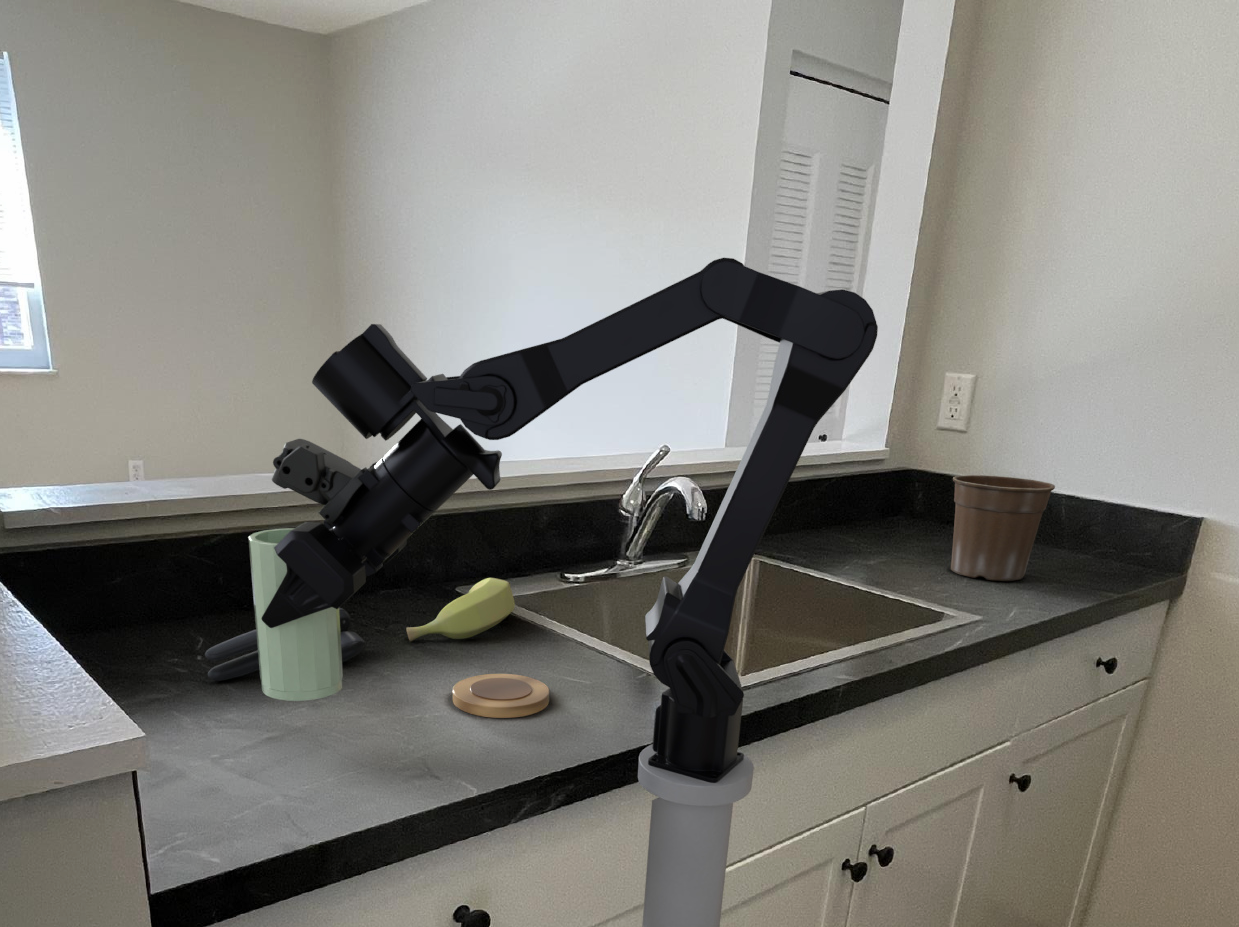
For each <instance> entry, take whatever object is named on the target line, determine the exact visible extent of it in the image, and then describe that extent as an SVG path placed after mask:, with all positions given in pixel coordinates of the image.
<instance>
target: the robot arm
mask: <svg viewBox="0 0 1239 927" xmlns="http://www.w3.org/2000/svg"><path fill="white" fill-rule="evenodd" d="M875 316H876V315H875V313H874V309H873V308H872V307H871V306H870V304H869V303H868V302H867V300H866V299H865V298H864V297H862V296H861V295H859V294H858V293H856V292H854V291H851V290H847V289H832V290H831V289H830V290H826V291H822V292H815V291H812V290H809V289H807V288H805V287H802V286H799V285H798V284H794V283H792V282H789V281H786V280H783V279H780V278H777V277H774V276H771V275H769V274H765V273H763V272H760V271H757V270H755V269H752V268H750V267H747V266H746V265H745V264H744V263H743V262H741V261H739V260H737V259H736V258H731V257H721V258H717V259H714V260H712V261H710V262H709V263H708V264H706V265H705V266H704V267H703V268H702V269H701V270H700V271H697V272H696V273H693V274H691V275H690V276H688V277H685V278H683V279H681V280H679V281H677V282H675V283H673V284H671V285H669V286H667V287H665V288H662V289H660V290H659V291H656V292H655V293H652V294H650V295H648V296H646V297H644V298H642V299H640V300H638V301H636V302H634V303H632V304H630V305H628V306H626V307H624V308H622V309H619V310H618V311H615V312H614V313H612V314H609V315H606V316H605V317H603V318H601V319H599V320H597V321H595V322H593V323H591V324H589V325H587V326H585V327H583V328H581V329H579V330H577V331H575V332H573V333H570V334H569V335H566V336H564V337H561V338H558V339H555V340H551V341H548V342H544V343H541V344H536V345H533V346H530V347H525V348H522V349H517V350H514V351H511V352H507V353H504V354H500V355H497V356H492V357H489V358H485V359H481V360H479V361H477V362H474V363H472V364H471V365H469V366H468V367H467V368H465V369H464V370H463V371H462V372H461V374H460V375H455V376H446V375H445V374H444V373H440V374H435V375H432V376H430V377H429V378H428V377H427V376H426V375H425V374H424V373H423V372H422V371H421V370H420V369H419V368H418V367H417V365H416V364H415V363H414V362H413V361H412V360H411V359H410V358H409V357H408V355H406V354H405V352H404V351H402V350H403V349H401V348H400V347H399V346H398V344H397V343H396V341H395V338H393V336H392V335H391V333H390V332H389V331H388V330H387V329H386V328H385V327H384V326H383V324H381V323H371V324H370V325H369V326H368V327H367V328H366V329H365V330H364V331H363V332H362V333H360V334H359V335H358V336H356V337H354V338H353V339H352V340H351V341H349V342H348V343H347V344H346V345H344V346H343V347H342V349H340V350H336V351H334V352H333V353H332V354H331V355H330V356H329V357H328V358H327V359H326V360H325V362H324V363H323V364H322V365H321V366H320V367H319V369H318V370H317V371H316V373H315V374H314V376H313V378H312V380H311V384H312V385H313V386H314V387H315V388H316V389H317V390H318V391H319V392H320V394H322V395H323V397H325V398H326V399H327V400H328V402H329V403H330V404H332V406H333V407H334V408H335V409H336V410H337V411H338V412H339V413H340V414H341V415H342V416H343V417H344V419H346V420H347V421H348V422H349V423H350V424H351V425H352V426H353V428H354V429H355V430H356V431H357V432H358V433H360V435H361V436H362V437H363V438H364V439H366V440H368V439H369V438H371V437H373V438H375V437H377V436H378V435H379V434H380V437H381V438H382V439H383V440H384V441H385V442H386V441H388V440H390V439H391V438H392V437H393V436H395V435H396V434H397V433H398V432H399V431H400V430H402V429H403V427H404V426H405V425H407V423H408V422H409V421H410V420H411V419H412V418H413V417H414V416H415V415H418V416H419V418H420V419H419V420H418V421H417V422H416V423H415V424H414V425H413V426H412V427H411V428H410V429H409V430H408V431H407V432H406V434H405V435H404V436H402V437H401V438H400V439H399V440H398V441H397V443H396V444H394V446H393V447H392V448H390V449H389V450H388V452H387V453H386V454H384V455H383V456H382V458H380V460H379V461H378V462H377V461H375V462H373V463H372V464H371V465H370V466H369V467H368V468H367V467H366V466H365V467H363V468H360V467H358V466H356V465H354V464H353V463H352V462H350V461H349V460H346V459H345V458H343V457H341V456H339V455H337V454H335V453H333V452H332V451H329V450H328V449H325V448H323V447H321V446H319V445H318V444H316V443H314V442H311V441H310V440H308V439H304V438H296V439H293V440H289V441H287V442H285V443H284V445H283V448H282V451H281V453H280V454H279V455H278V456H276V457H274V459H273V460H272V465H273V467H274V468H275V469H274V472H273V474H272V477H271V481H272V483H273V484H275V485H276V486H278V487H280V488H281V489H285V490H286V489H289V490H291V491H293V492H294V493H297V494H299V495H301V496H303V497H305V498H306V499H309V500H310V501H313V502H314V503H317V504H319V505H323V507H322V508H321V509H320V510H318V514H319V515H320V516H321V518H323V519H324V520H323V522H308V521H305V522H303V523H301V524H299V525H298V526H297V527H294V528H295V529H293V530H291V531H290V532H289V533H288V534H287V535H286V536H285V537H284V538H283V539H282V540H281V541H280V542H279V543H278V544H277V545H276V546H275V547H274V549H275V551H276V554H277V555H278V556H279V557H280V558H281V559H282V560H283V561H284V562H285V563H286V567H287V573H286V575H285V577H284V579H283V581H282V583H281V585H280V586H279V588H278V590H277V592H276V593H275V595H274V597H273V599H272V600H271V602H270V604H269V606H268V607H267V609H266V611H265V613H264V614H263V616H262V618H261V619H262V621H263V622H264V623H265V624H266V625H267V626H268V627H269V628H274V627H277V626H279V625H282V624H285V623H288V622H290V621H293V620H296V619H299V618H301V617H304V616H307V615H310V614H313V613H316V612H319V611H322V610H325V609H328V608H331V607H333V608H335V609H338V608H341V607H342V605H344V604H345V603H346V602H347V601H348V600H349V599H351V597H352V596H353V595H354V594H356V592H357V591H358V590H359V589H361V588H362V587H363V585H364V584H365V583H367V580H366V578H368V577H370V576H372V575H374V574H375V573H377V572H378V571H379V570H380V569H381V568H383V566H384V565H383V563H385V564H388V563H389V562H390V561H391V560H392V559H394V557H395V556H397V554H399V553H400V552H401V551H402V550H403V549H404V548H405V547H406V546H407V545H408V539H409V538H410V537H411V536H412V535H413V534H414V533H415V532H416V531H417V530H418V529H419V528H420V527H421V526H422V525H424V523H426V522H427V521H428V520H429V519H430V517H432V515H434V514H435V512H437V511H438V510H439V509H440V508H441V507H442V506H443V505H444V504H445V503H446V502H447V501H448V500H449V499H450V498H451V497H452V496H453V495H454V494H455V493H456V492H457V491H458V490H459V489H460V488H461V487H462V486H463V485H464V484H465V483H466V482H467V481H468V480H470V479H471V478H472V476H474V477H475V478H476V479H477V480H478V481H479V482H480V483H481V485H483V486H484V487H485V489H487V490H488V491H490V490H493V489H495V488H496V487H497V485H498V484H499V483H500V482H501V472H500V471H501V470H500V462H501V459H502V456H503V453H502V451H500V450H498V449H497V450H487V449H485V448H484V447H483V446H482V445H481V444H480V443H479V442H478V441H477V440H476V439H475V437H474V436H472V434H474V435H475V436H477V437H480V438H482V439H485V440H488V441H499V440H503V439H507V438H509V437H511V436H513V435H515V434H516V433H518V432H519V431H520V430H522V429H523V428H524V427H526V426H527V425H529V424H530V423H531V422H533V421H534V420H536V419H537V418H539V416H541V415H543V414H544V413H546V412H547V411H548V410H550V409H551V408H552V407H553V406H554V405H556V404H558V403H559V402H560V401H561V400H563V399H565V398H566V397H567V396H568V395H570V394H571V393H573V392H574V391H575V390H577V389H578V388H579V387H581V386H582V385H584V384H586V383H588V382H591V381H592V380H595V379H597V378H598V377H600V376H603V375H606V374H607V373H609V372H612V371H613V370H615V369H618V368H619V367H622V366H624V365H626V364H628V363H630V362H632V361H635V360H636V359H638V358H641V357H642V356H645V355H647V354H649V353H651V352H653V351H655V350H657V349H659V348H662V347H663V346H666V345H668V344H670V343H672V342H674V341H676V340H679V339H681V338H682V337H684V336H686V335H689V334H691V333H693V332H695V331H697V330H699V329H701V328H704V327H706V326H708V325H710V324H712V323H714V322H716V321H719V320H721V319H722V320H725V321H728V322H729V323H731V324H732V323H733V324H735V325H737V326H740V327H742V328H743V329H746V330H748V331H751V332H753V333H755V334H758V335H760V336H762V337H765V338H766V339H769V340H771V341H774V342H777V343H779V344H778V348H777V351H776V356H775V359H774V364H773V368H772V374H771V379H770V384H769V390H768V394H767V400H766V402H765V407H764V408H763V410H762V413H761V415H760V417H759V420H758V421H757V424H756V426H755V429H754V431H753V433H752V435H751V437H750V439H749V442H748V443H747V446H746V449H745V450H744V453H743V455H742V458H741V460H740V461H739V463H738V466H737V468H736V470H735V473H734V475H733V477H732V479H731V481H730V484H729V486H728V488H727V490H726V492H725V495H724V496H723V499H722V501H721V504H720V505H719V508H718V510H717V513H716V514H715V517H714V519H713V521H712V523H711V526H710V528H709V530H708V533H707V534H706V537H705V539H704V541H703V543H702V545H701V548H700V550H699V552H698V555H697V557H696V558H695V561H694V563H693V565H692V566H691V567H690V568H689V570H688V571H687V572H686V573H685V574H684V576H683V577H682V578H681V579H680V581H678V582H676V581H674V580H673V579H671V578H670V577H668V576H667V575H666V576H663V577H662V580H661V584H660V587H659V592H658V595H657V599H656V602H655V603H654V605H653V606H652V608H651V609H650V610H648V612H647V613H646V614H645V616H644V620H645V621H644V623H645V639H646V641H647V643H648V660H649V661H648V662H649V667H650V670H651V671H652V673H653V675H654V677H656V679H657V680H658V681H659V682H660V684H662V685H664V686H666V687H667V688H668V689H666V690H664V691H663V692H662V693H661V696H660V697H661V698H660V704H659V705H658V706H656V707H655V710H654V720H653V721H654V722H653V723H654V724H653V734H652V735H653V736H652V744H653V747H652V748H653V751H654V752H657V753H655V754H654V755H653V756H651V757H650V758H649V759H648V765H650V766H653V767H656V768H660V769H664V770H667V771H671V772H674V773H678V774H681V775H685V776H688V777H692V778H695V779H699V780H702V781H706V782H709V783H717V782H718V781H720V780H721V779H722V778H723V777H724V776H725V775H726V774H728V773H729V772H730V771H731V770H732V769H733V768H734V767H736V766H737V765H738V764H739V763H740V762H741V761H742V760H743V759H744V754H745V753H744V754H743V752H742V751H740V752H737V751H738V750H739V742H740V741H739V740H740V732H741V723H742V715H743V714H742V713H743V703H744V698H745V693H744V690H743V687H742V683H741V680H740V676H739V674H738V670H737V667H736V664H735V661H734V659H733V658H732V656H731V655H729V653H728V652H727V651H726V650H725V647H726V644H727V640H728V637H729V633H730V628H731V622H732V616H733V612H734V607H735V602H736V596H737V593H738V590H739V587H740V585H741V583H742V581H743V579H744V577H745V574H746V572H747V570H748V568H749V566H750V564H751V562H752V559H753V557H754V556H755V553H756V551H757V549H758V547H759V545H760V543H761V541H762V539H763V536H764V535H765V532H766V531H767V528H768V526H769V525H770V523H771V520H772V517H773V515H774V513H775V511H776V509H777V507H778V505H779V503H780V501H781V498H782V497H783V495H784V492H785V490H786V489H787V486H788V484H789V482H790V480H791V478H792V475H793V474H794V471H795V469H796V468H797V465H798V463H799V462H800V458H801V457H802V455H803V453H804V450H805V448H806V446H807V444H808V442H809V440H810V437H811V436H812V433H813V431H814V430H815V428H816V426H817V425H818V423H819V422H820V421H821V419H822V418H823V417H824V416H825V415H826V414H827V412H828V411H829V410H830V409H831V408H832V406H833V405H834V404H835V403H836V402H837V400H838V399H839V398H840V397H842V395H843V394H844V393H845V391H846V390H847V388H848V387H849V386H850V384H851V383H852V382H853V380H854V379H855V377H856V376H857V374H858V372H859V371H860V370H861V369H862V367H863V365H864V364H865V363H866V361H867V360H868V359H869V357H870V355H871V353H872V352H873V350H874V348H875V344H876V341H877V338H878V330H879V329H878V328H879V326H878V323H877V320H876V317H875ZM438 414H439V415H438ZM440 415H442V416H447V417H451V418H455V419H458V420H460V421H461V423H462V424H461V423H460V424H458V425H457V426H455V427H454V428H452V426H450V425H449V424H448V423H447V422H446V421H444V419H443V418H441V416H440ZM468 430H469V431H470V432H471V433H472V434H471V433H470V432H469V431H468ZM741 752H742V753H741Z"/></svg>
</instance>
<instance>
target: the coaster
mask: <svg viewBox="0 0 1239 927" xmlns="http://www.w3.org/2000/svg"><path fill="white" fill-rule="evenodd" d="M452 703H453V705H454V706H455V707H456V708H457V709H459V710H461V711H462V712H465V713H467V714H471V715H473V716H477V717H485V718H492V719H512V718H513V719H514V718H522V717H526V716H531V715H535V714H538V713H539V712H541V711H543V710H545V709H546V708H547V707H548V706H549V703H550V688H549V687H548V685H546V684H545V683H544V682H542V681H540V680H538V679H537V678H533V677H530V676H525V675H520V674H514V673H512V674H511V673H486V674H479V675H478V674H477V675H474V676H473V675H472V676H469V677H466V678H463V679H461V680H459V681H457V682H456V683H455V684H454V686H453V687H452Z"/></svg>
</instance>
